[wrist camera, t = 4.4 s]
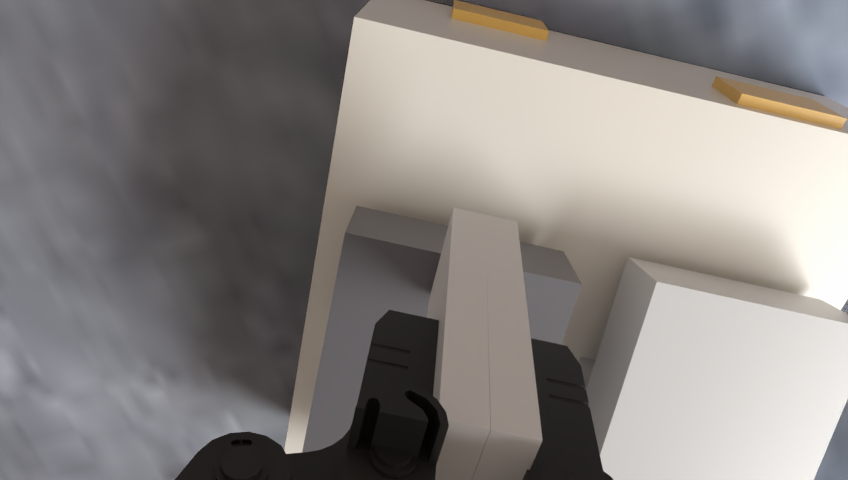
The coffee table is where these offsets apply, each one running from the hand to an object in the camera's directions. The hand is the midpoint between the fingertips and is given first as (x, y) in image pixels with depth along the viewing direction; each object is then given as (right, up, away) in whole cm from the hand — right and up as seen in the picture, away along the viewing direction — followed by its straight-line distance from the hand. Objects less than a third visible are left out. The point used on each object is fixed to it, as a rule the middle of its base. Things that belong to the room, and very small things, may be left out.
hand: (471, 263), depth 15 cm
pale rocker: (+7, -5, +5) cm, 10 cm away
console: (+3, -1, +11) cm, 12 cm away
